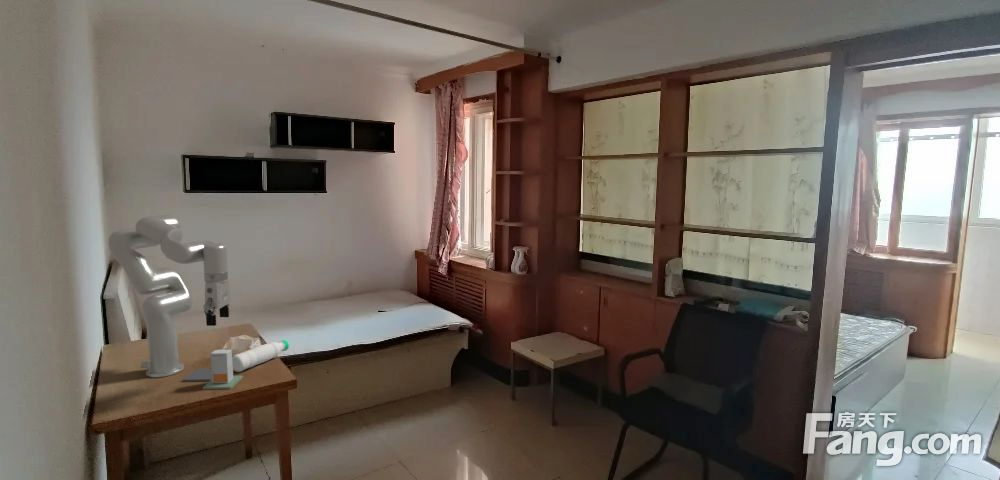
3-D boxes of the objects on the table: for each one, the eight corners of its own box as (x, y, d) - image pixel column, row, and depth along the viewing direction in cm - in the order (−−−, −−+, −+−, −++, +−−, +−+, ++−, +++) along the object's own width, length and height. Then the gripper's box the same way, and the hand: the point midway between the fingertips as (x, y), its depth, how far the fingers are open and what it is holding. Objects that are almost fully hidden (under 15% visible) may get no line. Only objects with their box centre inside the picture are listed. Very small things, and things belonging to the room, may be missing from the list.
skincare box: (211, 383, 181) (209, 353, 180) (217, 378, 185) (215, 349, 184) (228, 383, 182) (226, 353, 180) (233, 378, 186) (232, 349, 184)
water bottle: (243, 372, 192) (292, 352, 214) (239, 355, 191) (290, 336, 214) (231, 372, 194) (281, 352, 217) (228, 355, 194) (279, 337, 217)
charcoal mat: (182, 381, 184) (182, 379, 184) (196, 370, 194) (196, 368, 194) (209, 381, 185) (209, 379, 185) (222, 370, 195) (222, 368, 195)
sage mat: (202, 389, 178) (202, 387, 178) (216, 377, 188) (216, 375, 188) (230, 388, 179) (230, 386, 179) (242, 377, 189) (242, 375, 189)
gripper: (214, 282, 169) (217, 329, 172) (237, 271, 187) (239, 314, 189) (192, 282, 169) (195, 328, 171) (217, 271, 186) (219, 313, 188)
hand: (218, 321), depth 180 cm, fingers open, 9 cm apart
